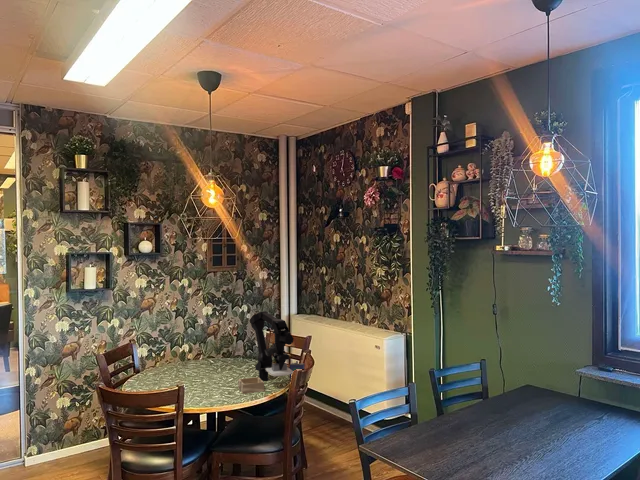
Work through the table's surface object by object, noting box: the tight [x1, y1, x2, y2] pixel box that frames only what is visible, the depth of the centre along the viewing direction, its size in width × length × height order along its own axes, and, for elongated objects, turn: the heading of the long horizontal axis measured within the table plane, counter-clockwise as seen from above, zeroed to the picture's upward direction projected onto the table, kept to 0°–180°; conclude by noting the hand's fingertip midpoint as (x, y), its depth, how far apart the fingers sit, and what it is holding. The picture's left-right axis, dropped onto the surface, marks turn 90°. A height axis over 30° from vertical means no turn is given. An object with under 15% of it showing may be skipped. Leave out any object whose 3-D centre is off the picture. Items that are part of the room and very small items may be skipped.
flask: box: [289, 360, 305, 379], centre depth 294 cm, size 9×3×11 cm, turn 88°
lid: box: [266, 362, 293, 377], centre depth 278 cm, size 13×13×6 cm
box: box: [237, 376, 265, 395], centre depth 271 cm, size 12×12×5 cm
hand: (279, 368), depth 278 cm, fingers closed on lid, 4 cm apart
